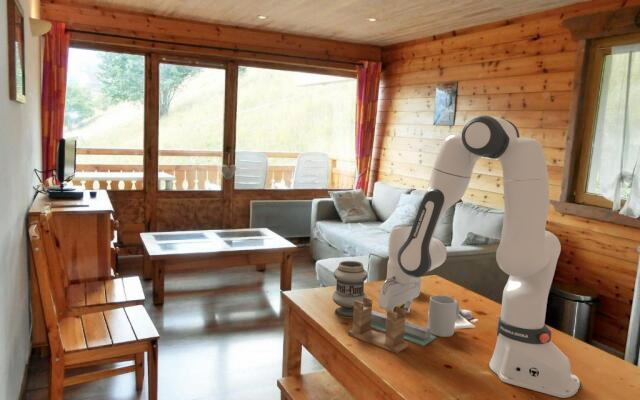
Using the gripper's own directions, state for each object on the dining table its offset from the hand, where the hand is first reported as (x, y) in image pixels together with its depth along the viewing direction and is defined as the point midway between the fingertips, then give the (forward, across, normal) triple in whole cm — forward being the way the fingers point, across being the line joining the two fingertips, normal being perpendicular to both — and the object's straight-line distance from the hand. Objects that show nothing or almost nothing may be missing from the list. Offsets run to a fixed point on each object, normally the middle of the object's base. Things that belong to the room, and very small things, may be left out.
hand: (398, 316), depth 157 cm
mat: (+5, 0, +1) cm, 5 cm away
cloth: (+6, +27, -7) cm, 29 cm away
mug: (+6, +12, -10) cm, 17 cm away
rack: (+5, -11, +1) cm, 12 cm away
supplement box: (+5, +20, +14) cm, 25 cm away
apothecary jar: (+5, +1, +21) cm, 21 cm away
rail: (+5, 0, +1) cm, 5 cm away
